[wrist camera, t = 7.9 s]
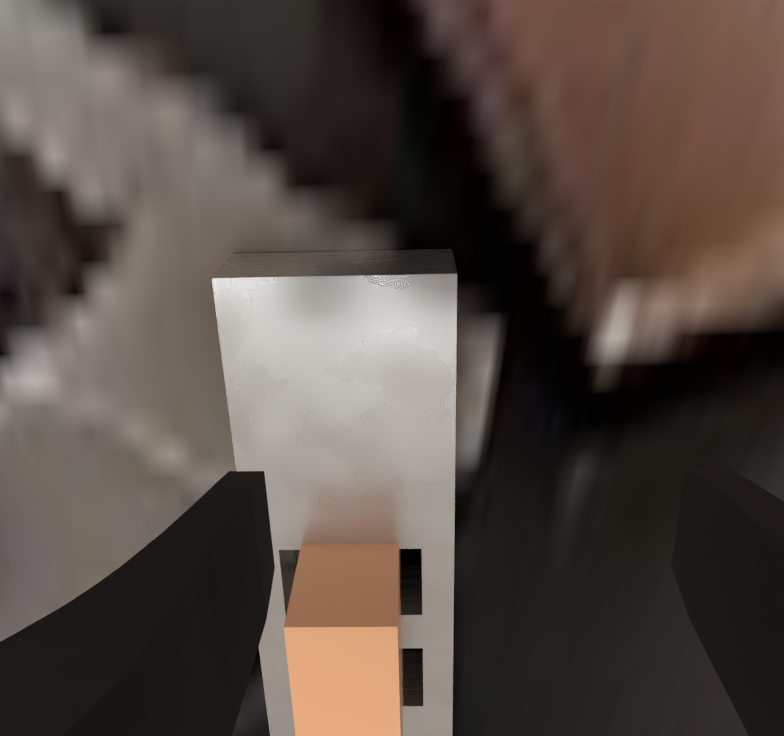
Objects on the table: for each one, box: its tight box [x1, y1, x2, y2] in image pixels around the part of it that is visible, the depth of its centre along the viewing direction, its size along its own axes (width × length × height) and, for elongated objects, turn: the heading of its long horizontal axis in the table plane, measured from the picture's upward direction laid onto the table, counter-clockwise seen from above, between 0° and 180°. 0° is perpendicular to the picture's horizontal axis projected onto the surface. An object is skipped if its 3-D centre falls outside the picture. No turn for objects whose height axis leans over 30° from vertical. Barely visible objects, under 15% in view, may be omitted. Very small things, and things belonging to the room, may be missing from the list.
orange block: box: [284, 544, 403, 736], centre depth 23 cm, size 3×6×6 cm, turn 1°
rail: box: [212, 249, 457, 736], centre depth 25 cm, size 6×24×2 cm, turn 1°
